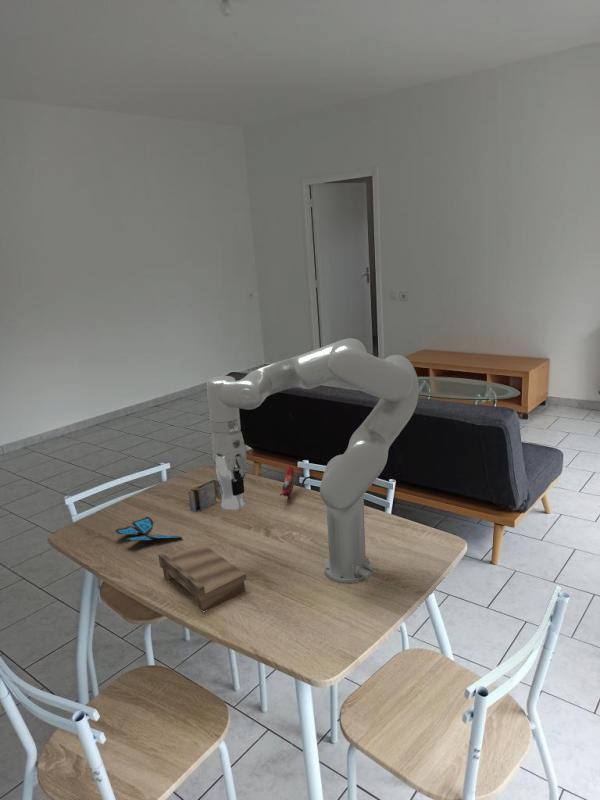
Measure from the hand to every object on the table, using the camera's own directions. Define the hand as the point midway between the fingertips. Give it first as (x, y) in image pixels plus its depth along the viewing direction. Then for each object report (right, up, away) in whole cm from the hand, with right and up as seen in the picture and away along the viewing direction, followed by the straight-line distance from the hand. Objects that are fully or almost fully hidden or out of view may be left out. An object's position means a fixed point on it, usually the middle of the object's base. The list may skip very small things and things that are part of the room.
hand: (231, 489), depth 153 cm
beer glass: (0, -5, +1) cm, 5 cm away
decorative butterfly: (-29, -19, +26) cm, 44 cm away
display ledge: (-7, -25, -1) cm, 26 cm away
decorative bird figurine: (+14, -11, +44) cm, 47 cm away
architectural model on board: (-14, -13, +45) cm, 49 cm away
